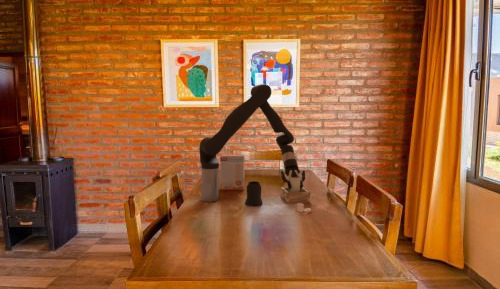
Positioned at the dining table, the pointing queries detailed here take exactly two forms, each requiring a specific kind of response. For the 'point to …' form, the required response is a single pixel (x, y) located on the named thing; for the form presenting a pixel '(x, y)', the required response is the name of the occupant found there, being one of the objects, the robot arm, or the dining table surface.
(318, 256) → the dining table surface
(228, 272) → the dining table surface
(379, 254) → the dining table surface
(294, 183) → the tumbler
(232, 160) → the cracker box
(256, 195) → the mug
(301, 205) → the teacup and saucer
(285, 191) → the crate
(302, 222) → the dining table surface
